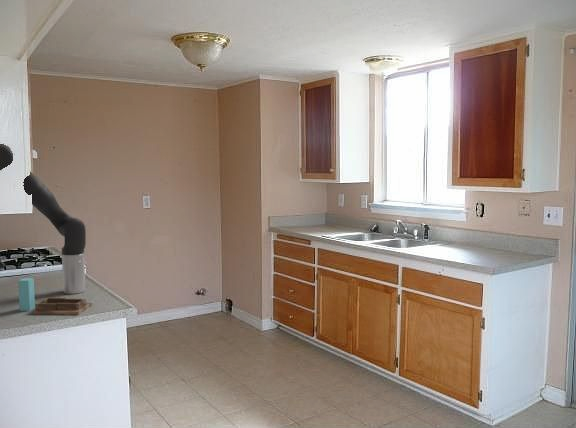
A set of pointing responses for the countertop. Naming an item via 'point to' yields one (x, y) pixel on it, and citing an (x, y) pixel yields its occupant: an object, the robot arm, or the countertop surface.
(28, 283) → the post
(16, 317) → the countertop surface
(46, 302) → the keyhole board
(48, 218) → the robot arm
